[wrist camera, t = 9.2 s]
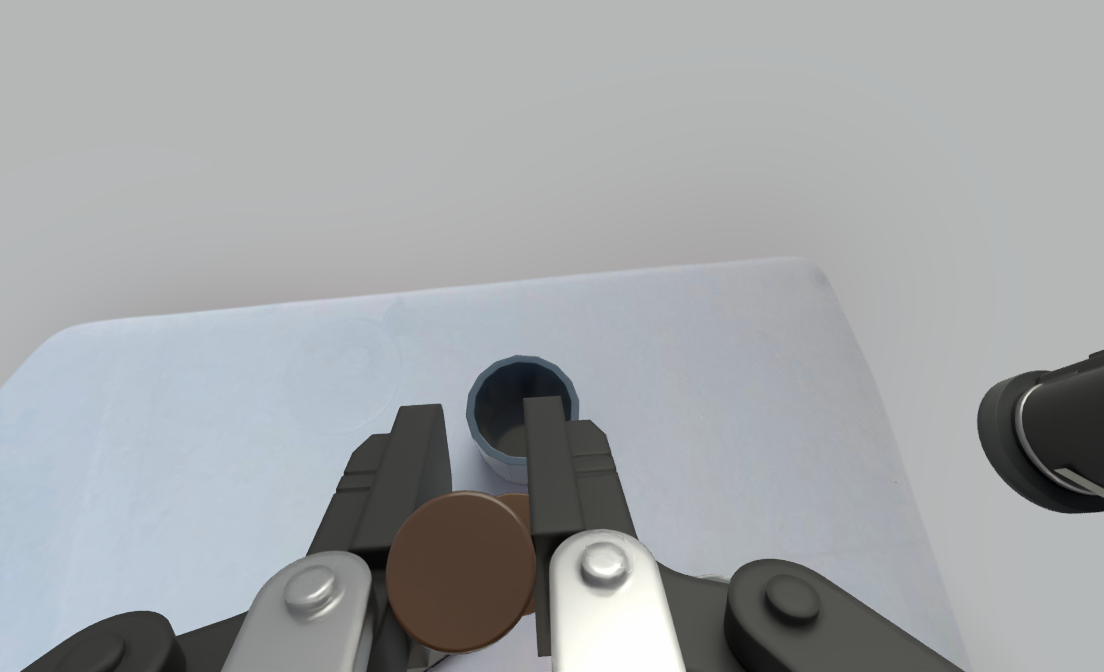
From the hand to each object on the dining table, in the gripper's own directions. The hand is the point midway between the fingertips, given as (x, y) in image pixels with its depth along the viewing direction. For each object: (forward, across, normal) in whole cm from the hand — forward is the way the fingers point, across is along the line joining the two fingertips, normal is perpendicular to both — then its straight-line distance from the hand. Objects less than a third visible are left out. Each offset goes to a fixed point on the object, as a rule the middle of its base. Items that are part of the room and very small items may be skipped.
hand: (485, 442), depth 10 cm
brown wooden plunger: (+10, 0, +13) cm, 16 cm away
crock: (+27, -1, +18) cm, 33 cm away
